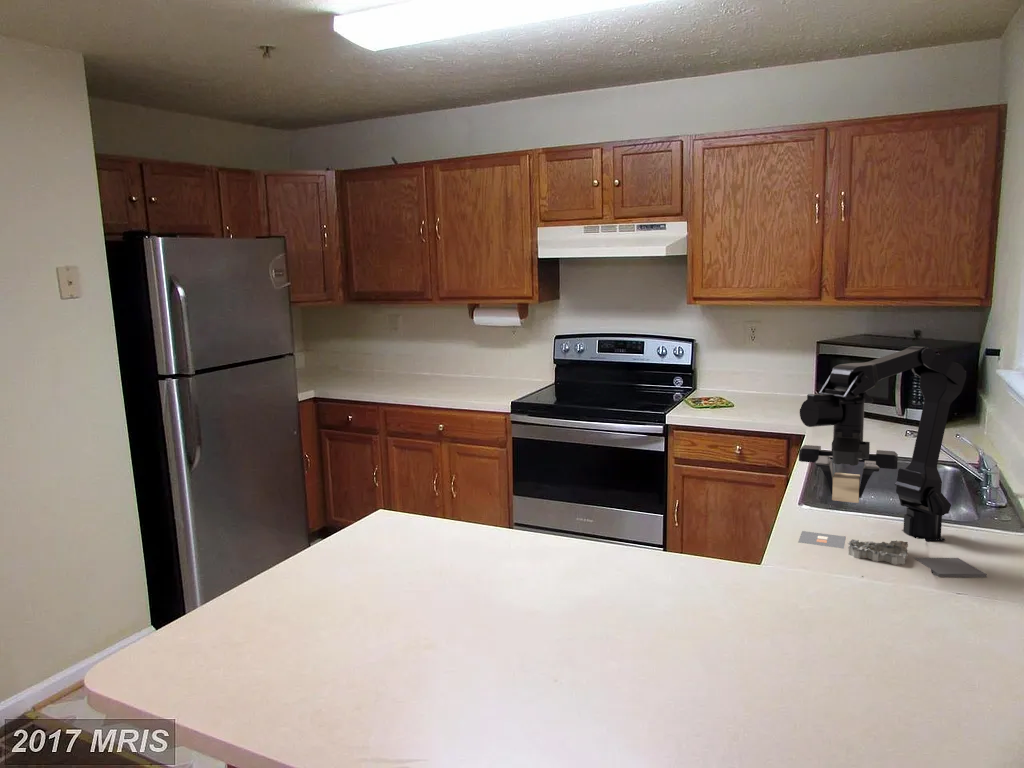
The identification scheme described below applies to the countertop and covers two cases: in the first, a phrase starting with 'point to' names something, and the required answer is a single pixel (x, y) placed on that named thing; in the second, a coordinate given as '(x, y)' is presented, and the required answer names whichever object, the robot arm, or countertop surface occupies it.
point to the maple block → (846, 487)
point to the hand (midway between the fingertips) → (846, 496)
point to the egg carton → (880, 551)
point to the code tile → (822, 539)
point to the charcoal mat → (951, 567)
